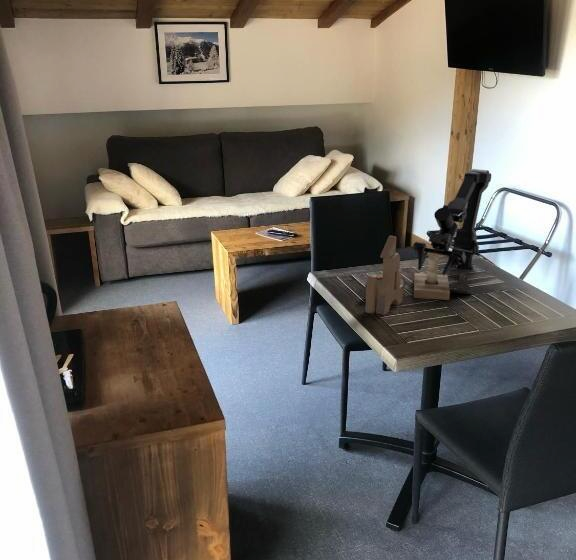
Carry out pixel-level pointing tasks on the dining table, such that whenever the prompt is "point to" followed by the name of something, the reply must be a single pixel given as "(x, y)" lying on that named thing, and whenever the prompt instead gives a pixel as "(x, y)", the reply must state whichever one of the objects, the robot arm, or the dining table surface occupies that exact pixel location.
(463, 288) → the hairbrush
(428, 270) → the cream ridged cylinder
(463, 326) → the dining table surface
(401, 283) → the tin
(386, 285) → the wooden toy
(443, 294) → the brown box
